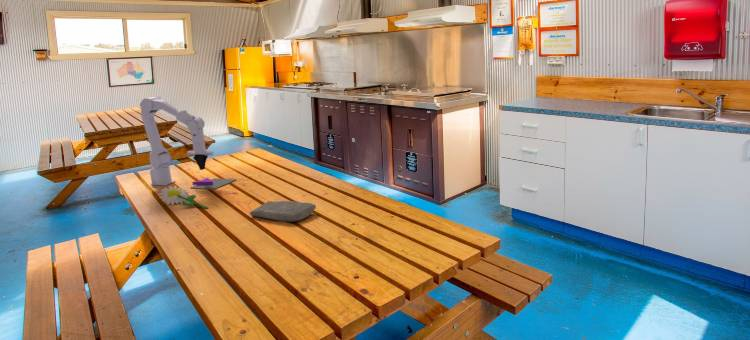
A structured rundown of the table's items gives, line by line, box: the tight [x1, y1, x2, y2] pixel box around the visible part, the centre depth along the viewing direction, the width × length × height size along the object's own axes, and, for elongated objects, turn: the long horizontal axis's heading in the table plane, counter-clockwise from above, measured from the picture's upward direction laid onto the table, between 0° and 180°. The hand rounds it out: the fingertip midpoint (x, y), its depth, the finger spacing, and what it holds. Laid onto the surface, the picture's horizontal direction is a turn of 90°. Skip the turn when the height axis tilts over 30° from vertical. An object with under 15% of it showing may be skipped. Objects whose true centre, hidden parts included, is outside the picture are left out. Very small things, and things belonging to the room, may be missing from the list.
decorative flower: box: [158, 185, 209, 210], centre depth 228 cm, size 13×5×30 cm
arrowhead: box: [192, 177, 213, 186], centre depth 262 cm, size 10×2×10 cm
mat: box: [190, 178, 238, 191], centre depth 260 cm, size 14×18×1 cm
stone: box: [249, 200, 317, 223], centre depth 204 cm, size 26×4×15 cm
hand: (202, 169), depth 261 cm, fingers closed
